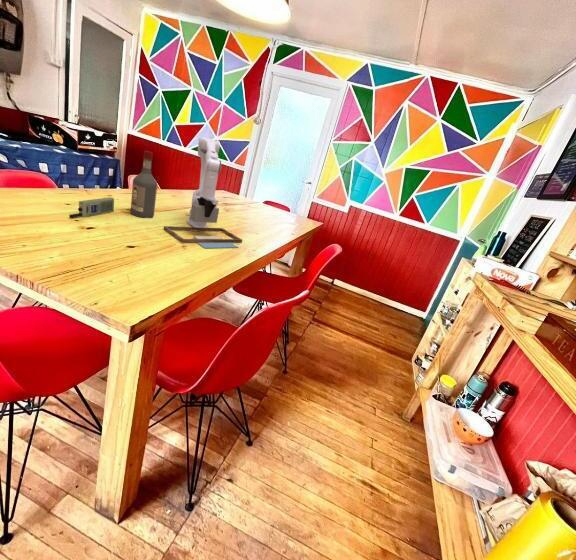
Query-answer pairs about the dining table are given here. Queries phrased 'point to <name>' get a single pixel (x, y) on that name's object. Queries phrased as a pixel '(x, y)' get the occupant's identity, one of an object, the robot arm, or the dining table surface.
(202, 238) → the offcut stack
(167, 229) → the dark rectangular frame
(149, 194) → the liquor
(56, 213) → the dining table surface
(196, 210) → the grey rectangular block
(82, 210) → the handheld radio
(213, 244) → the blue mat
